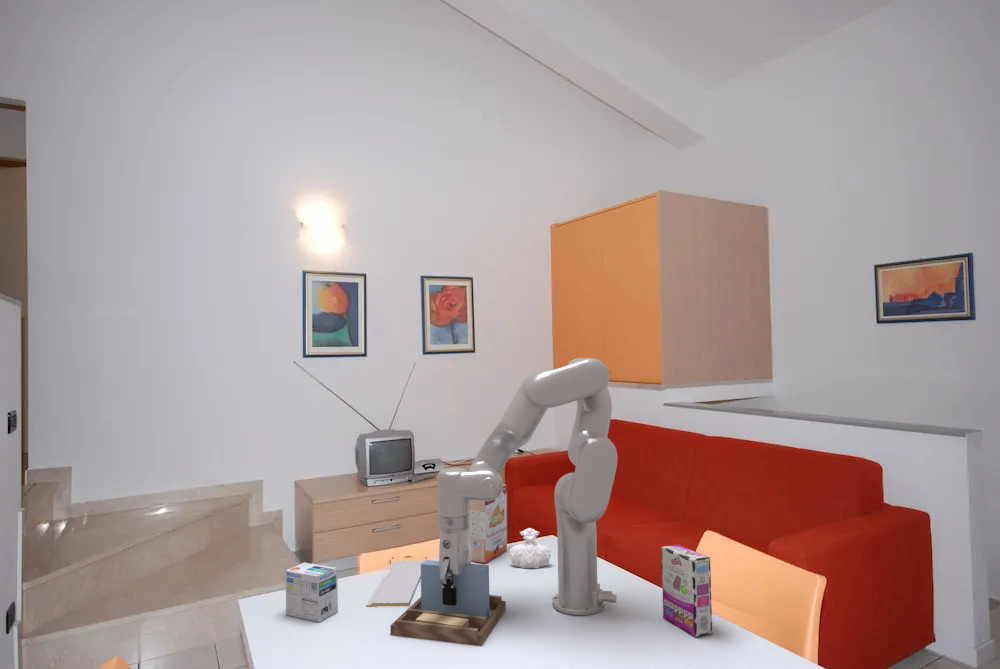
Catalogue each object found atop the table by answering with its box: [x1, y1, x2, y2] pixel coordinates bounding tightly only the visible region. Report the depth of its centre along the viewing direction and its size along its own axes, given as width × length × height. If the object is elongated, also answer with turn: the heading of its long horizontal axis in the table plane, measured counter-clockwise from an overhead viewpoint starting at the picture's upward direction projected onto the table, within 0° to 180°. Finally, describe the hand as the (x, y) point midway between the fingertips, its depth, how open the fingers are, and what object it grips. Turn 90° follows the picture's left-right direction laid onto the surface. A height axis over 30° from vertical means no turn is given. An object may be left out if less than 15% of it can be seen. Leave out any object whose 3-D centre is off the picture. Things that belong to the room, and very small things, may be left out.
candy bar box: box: [660, 544, 713, 638], centre depth 134 cm, size 11×5×16 cm, turn 23°
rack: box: [389, 594, 507, 646], centre depth 138 cm, size 21×19×3 cm
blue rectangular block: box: [420, 559, 491, 620], centre depth 141 cm, size 16×3×12 cm, turn 74°
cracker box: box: [469, 483, 508, 564], centre depth 184 cm, size 14×6×21 cm, turn 152°
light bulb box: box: [285, 562, 339, 623], centre depth 144 cm, size 11×7×11 cm, turn 65°
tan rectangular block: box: [416, 613, 469, 627], centre depth 133 cm, size 12×4×3 cm, turn 70°
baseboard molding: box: [365, 555, 428, 608], centre depth 163 cm, size 31×3×12 cm
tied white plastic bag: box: [508, 527, 551, 569], centre depth 176 cm, size 12×8×11 cm
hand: (455, 598), depth 141 cm, fingers open, 6 cm apart
